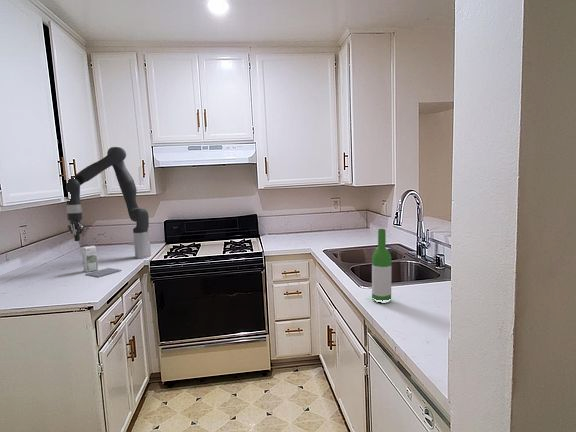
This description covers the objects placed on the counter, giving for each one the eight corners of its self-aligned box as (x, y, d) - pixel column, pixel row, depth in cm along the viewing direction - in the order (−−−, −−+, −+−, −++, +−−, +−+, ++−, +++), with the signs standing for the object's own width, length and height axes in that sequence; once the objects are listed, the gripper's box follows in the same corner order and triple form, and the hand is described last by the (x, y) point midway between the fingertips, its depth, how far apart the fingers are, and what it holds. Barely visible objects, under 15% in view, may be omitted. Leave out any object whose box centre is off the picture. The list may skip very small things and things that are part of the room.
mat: (108, 268, 207) (108, 267, 207) (121, 270, 201) (121, 269, 201) (85, 274, 195) (85, 273, 195) (98, 277, 189) (98, 276, 189)
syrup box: (94, 268, 208) (91, 245, 206) (98, 270, 204) (96, 246, 202) (83, 271, 203) (81, 246, 202) (87, 272, 200) (85, 248, 198)
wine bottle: (395, 302, 141) (396, 229, 137) (379, 305, 138) (379, 231, 135) (383, 296, 148) (383, 227, 145) (368, 299, 145) (368, 228, 142)
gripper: (87, 211, 205) (90, 240, 207) (74, 211, 211) (76, 239, 213) (74, 213, 199) (77, 242, 200) (61, 212, 205) (64, 241, 207)
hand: (77, 240), depth 207 cm, fingers closed
